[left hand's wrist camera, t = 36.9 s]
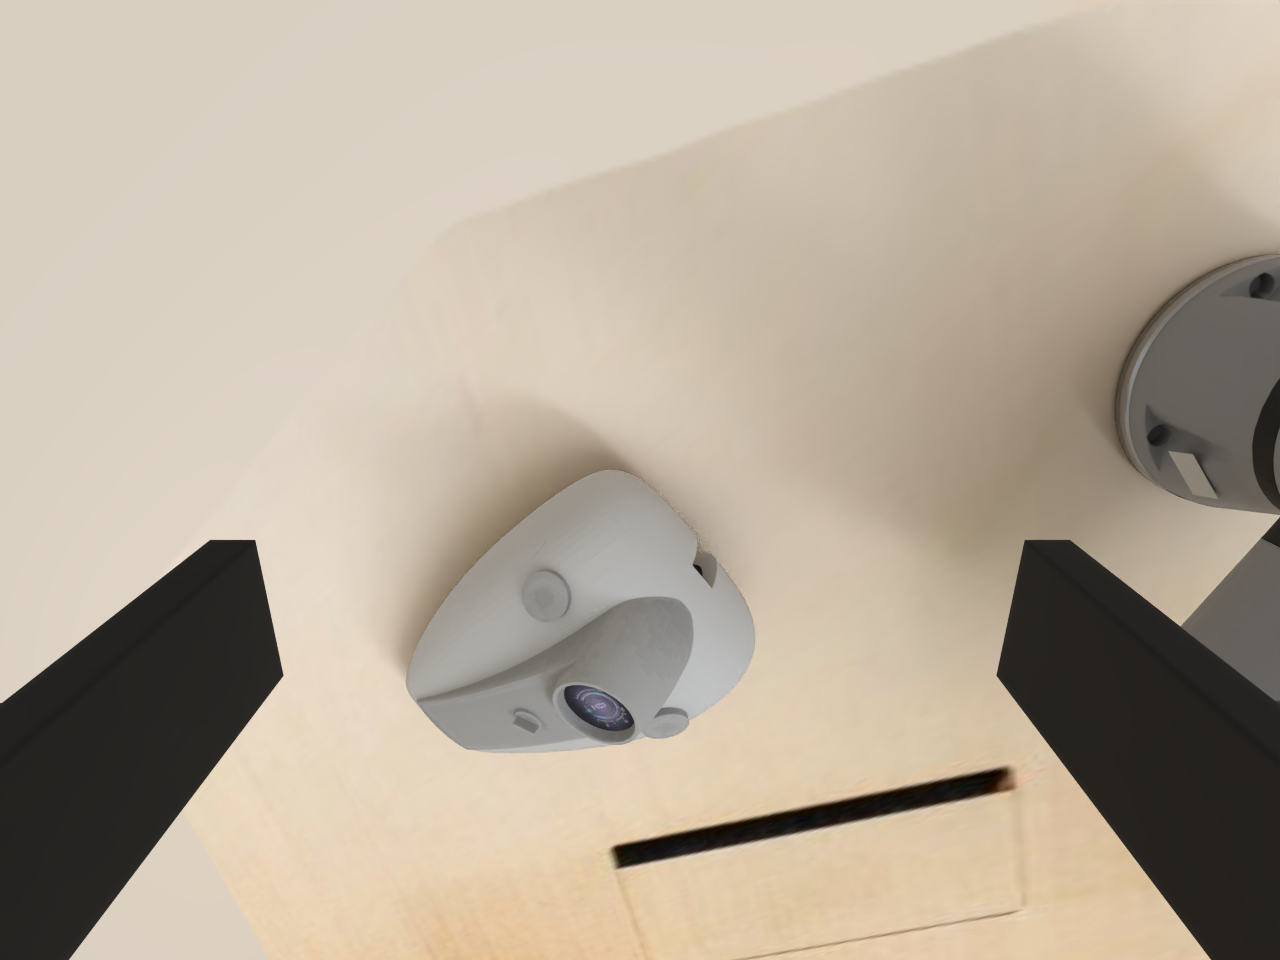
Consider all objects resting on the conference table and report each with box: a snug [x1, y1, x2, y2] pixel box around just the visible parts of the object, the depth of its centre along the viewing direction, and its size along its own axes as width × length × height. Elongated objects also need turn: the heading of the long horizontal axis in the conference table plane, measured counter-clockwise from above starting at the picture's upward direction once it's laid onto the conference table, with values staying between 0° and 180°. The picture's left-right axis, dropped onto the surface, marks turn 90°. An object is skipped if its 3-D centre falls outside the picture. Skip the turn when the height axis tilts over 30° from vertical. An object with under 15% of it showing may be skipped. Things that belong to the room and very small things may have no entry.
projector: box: [406, 470, 755, 753], centre depth 43 cm, size 22×23×15 cm
